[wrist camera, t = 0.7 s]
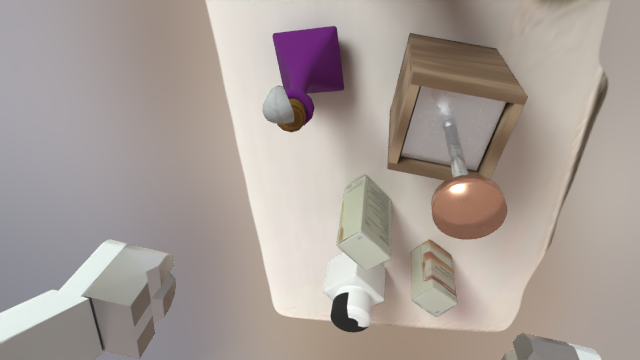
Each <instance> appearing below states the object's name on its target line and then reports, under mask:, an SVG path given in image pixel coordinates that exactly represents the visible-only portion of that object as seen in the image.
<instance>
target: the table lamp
mask: <svg viewBox="0 0 640 360" xmlns="http://www.w3.org/2000/svg"><path fill="white" fill-rule="evenodd" d="M505 104H506V102H503V101H498V100H493V99H487V98H482V97H477V96H471V95H466V94H460V93H455V92H450V91H444V90H439V89H434V88H428V87H423V86H420V89H419V92H418V95H417V99H416V102H415V106H414V109H413V113H412V116H411V119H410V123H409V126H408V130H407V133H406V137H405V140H404V143H403V147H402V150H401V156H403V157H408V158H414V159H419V160H424V161H429V162H434V163H439V164H444V165H449V166H451V170H452V175H453V178H451V179H449V180H447V181H445V182H444V183H442V184H441V185H440V186H439V187H438V188H437V189H436V191H435V192H434V194H433V197H432V202H431V206H432V216H433V220H434V223H435V224H436V226H437V227H438V228H439V230H441V231H442V232H443V233H445V234H446V235H448V236H451V237H454V238H458V239H477V238H481V237H484V236H486V235H489V234H491V233H492V232H494V231H495V230H497V229H498V228H499V227H500V226H501V224H502V223H503V221H504V220H505V217H506V214H507V206H506V203H505V200H504V197H503V194H502V191H501V189H500V188H499V186H498V185H497V184H496V183H495V182H493V181H492V180H490V179H488V178H486V177H483V176H480V175H470V174H469V175H468V171H467V169H469V170H474V171H477V169H478V166H479V164H480V162H481V159H482V157H483V155H484V152H485V150H486V148H487V146H488V143H489V141H490V139H491V136H492V134H493V132H494V129H495V127H496V125H497V123H498V120H499V118H500V116H501V113H502V111H503V109H504V106H505Z"/></svg>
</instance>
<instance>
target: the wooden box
mask: <svg viewBox="0 0 640 360" xmlns="http://www.w3.org/2000/svg"><path fill="white" fill-rule="evenodd" d="M420 86H423V87H428V88H434V89H439V90H444V91H450V92H455V93H460V94H466V95H471V96H477V97H482V98H487V99H493V100H498V101H503V102H506V104H505V106H504V109H503V111H502V113H501V116H500V118H499V120H498V123H497V125H496V127H495V129H494V132H493V134H492V136H491V139H490V141H489V143H488V146H487V148H486V150H485V152H484V155H483V157H482V159H481V162H480V164H479V166H478V169H477V171H474V170H469V169H467V171H468V175H469V174H470V175H480V176H483V177H486V178H488V179H490V177H491V175H492V173H493V171H494V169H495V167H496V164H497V162H498V160H499V158H500V156H501V154H502V152H503V149H504V147H505V145H506V143H507V141H508V139H509V136H510V134H511V132H512V130H513V128H514V126H515V124H516V121H517V119H518V117H519V115H520V113H521V111H522V109H523V106H524V104H525V102H526V100H527V98H528V96H527V95H526V93H525V92H524V90H523V89H522V87H521V86H520V84H519V83H518V81H517V80H516V78H515V76H514V75H513V73H512V72H511V70H510V69H509V67H508V66H507V64H506V63H505V61H504V60H503V58H502V57H501V55H500V54H499V52H498V50H497V49H495V48H489V47H484V46H478V45H472V44H467V43H461V42H456V41H450V40H445V39H439V38H433V37H428V36H422V35H417V34H411V33H410V35H409V39H408V43H407V47H406V51H405V55H404V59H403V63H402V66H401V70H400V74H399V78H398V82H397V86H396V90H395V94H394V98H393V102H392V106H391V110H390V124H389V146H388V167H387V169H390V170H395V171H401V172H406V173H411V174H416V175H421V176H426V177H431V178H436V179H441V180H446V181H447V180H449V179H451V178H453V175H452V170H451V166H449V165H444V164H439V163H434V162H429V161H424V160H419V159H414V158H408V157H403V156H401V150H402V147H403V143H404V140H405V137H406V133H407V130H408V126H409V123H410V119H411V116H412V113H413V109H414V106H415V102H416V99H417V95H418V92H419V89H420Z"/></svg>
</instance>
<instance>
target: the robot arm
mask: <svg viewBox="0 0 640 360" xmlns="http://www.w3.org/2000/svg"><path fill="white" fill-rule="evenodd" d="M173 267H174V260H173V255H171V254H167V253H163V252H159V251H156V250H152V249H148V248H144V247H139V246H136V245H132V244H127V243H123V242H119V241H114V240H111V239H110V240H108V241H105V242H104V243H102V244H101V245H100V246H99V248H97V250H96V251H95V252H94V253H93V254H92V255H91V256H90V257H89V258H88V259H87V261H86V262H85V263H84V264H83V265H82V266H81V267H80V268H79V269H78V270H77V272H75V274H74V275H73V276H72V277H71V278H70V279H69V280H68V281H67V282H66V283H65V284H64V286H63V287H62V288H61V289H60V290H59V291H56V290H50V291H48V292H46V293H44V294H41V295H39V296H37V297H35V298H33V299H30V300H28V301H26V302H24V303H21V304H19V305H17V306H15V307H13V308H10V309H8V310H6V311H4V312H1V313H0V360H95V359H96V358H98V357H99V356H100V355H102V354H103V351H105V352H110V353H114V354H119V355H124V356H128V357H133V358H138V359H140V358H141V356H142V354H143V353H144V351H145V349H146V348H147V346H148V344H149V343H150V341H151V339H152V338H153V336H154V334H155V330H154V323H155V322H157V321H159V320H161V319H162V318H164V317H165V315H166V313H167V312H168V310H169V308H170V306H171V303H172V300H173V298H174V295H175V288H176V281H175V278H174V276H173V275H172V274H171V273H170V271H171V270H172V268H173ZM513 344H514V348H515V350H514V351H511V352H509V353H506V354H505V355H504V356H503V358H502V360H601V358H600V356H599V354H598V353H597V352H596V351H595V350H594V349H592V348H587V347H583V346H579V345H574V344H570V343H566V342H562V341H557V340H553V339H548V338H543V337H539V336H534V335H529V334H525V333H522V334H520V335H518V336H517V338H516V339H515V340H514V342H513Z"/></svg>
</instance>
